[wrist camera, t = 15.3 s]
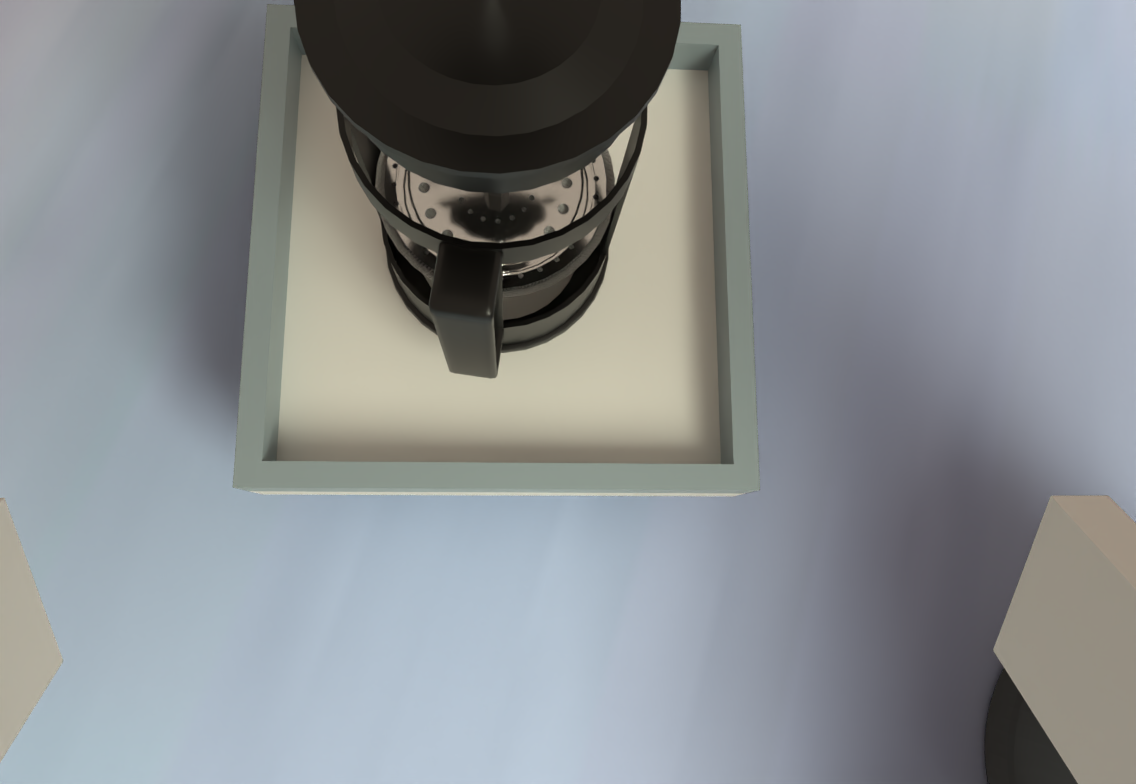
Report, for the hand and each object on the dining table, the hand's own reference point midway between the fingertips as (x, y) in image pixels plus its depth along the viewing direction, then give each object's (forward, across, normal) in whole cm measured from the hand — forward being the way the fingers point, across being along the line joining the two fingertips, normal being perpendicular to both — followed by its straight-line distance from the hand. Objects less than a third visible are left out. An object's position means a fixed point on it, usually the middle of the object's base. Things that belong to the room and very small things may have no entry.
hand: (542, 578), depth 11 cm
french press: (+26, -1, -5) cm, 27 cm away
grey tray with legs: (+30, -1, -9) cm, 32 cm away
